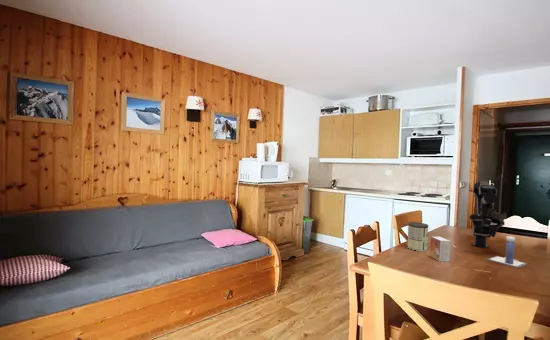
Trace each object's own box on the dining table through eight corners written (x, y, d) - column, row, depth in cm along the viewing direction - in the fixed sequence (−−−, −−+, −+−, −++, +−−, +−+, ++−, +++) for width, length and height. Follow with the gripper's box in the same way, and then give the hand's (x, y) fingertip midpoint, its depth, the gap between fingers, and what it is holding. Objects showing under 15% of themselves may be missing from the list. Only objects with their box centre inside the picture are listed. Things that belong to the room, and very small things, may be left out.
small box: (429, 256, 156) (430, 236, 155) (439, 256, 156) (440, 236, 156) (439, 261, 148) (440, 240, 147) (449, 261, 148) (450, 240, 148)
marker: (504, 261, 149) (506, 235, 149) (513, 263, 147) (515, 236, 147) (504, 263, 146) (506, 236, 146) (513, 264, 144) (515, 238, 144)
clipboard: (496, 256, 158) (496, 254, 158) (527, 264, 147) (527, 262, 147) (487, 260, 153) (487, 257, 153) (518, 268, 142) (518, 266, 142)
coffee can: (406, 245, 175) (407, 221, 175) (425, 247, 172) (427, 223, 171) (407, 250, 165) (409, 224, 165) (428, 252, 162) (429, 226, 162)
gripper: (489, 202, 154) (489, 233, 151) (514, 209, 160) (515, 239, 156) (469, 204, 165) (468, 232, 161) (493, 210, 170) (493, 238, 166)
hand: (486, 235), depth 161 cm, fingers open, 9 cm apart
